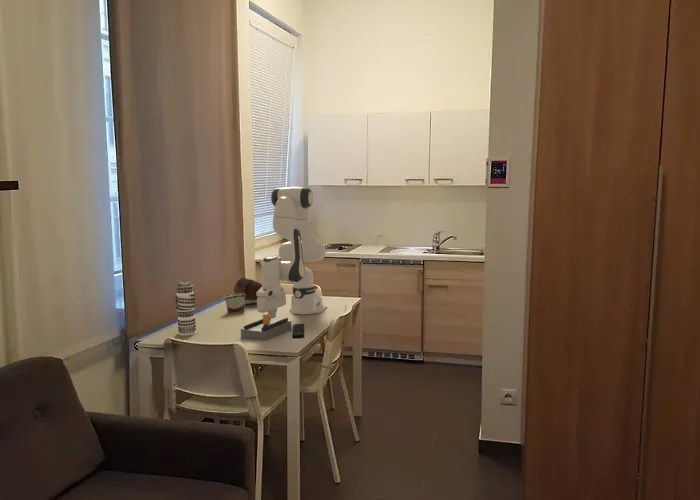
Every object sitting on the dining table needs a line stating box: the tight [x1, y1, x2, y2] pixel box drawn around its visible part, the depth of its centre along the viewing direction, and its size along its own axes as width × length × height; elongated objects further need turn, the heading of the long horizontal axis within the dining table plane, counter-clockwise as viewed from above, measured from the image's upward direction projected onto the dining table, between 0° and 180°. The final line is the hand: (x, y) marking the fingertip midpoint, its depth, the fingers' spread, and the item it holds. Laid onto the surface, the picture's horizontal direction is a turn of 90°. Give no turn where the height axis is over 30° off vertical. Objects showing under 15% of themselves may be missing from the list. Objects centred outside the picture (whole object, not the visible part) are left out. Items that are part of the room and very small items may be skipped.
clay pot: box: [233, 277, 262, 306], centre depth 358 cm, size 15×15×25 cm
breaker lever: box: [262, 313, 270, 325], centre depth 291 cm, size 2×2×5 cm
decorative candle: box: [174, 281, 197, 336], centre depth 294 cm, size 9×9×25 cm
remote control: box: [292, 323, 305, 339], centre depth 293 cm, size 5×24×1 cm, turn 4°
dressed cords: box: [243, 315, 289, 331], centre depth 291 cm, size 22×12×2 cm, turn 153°
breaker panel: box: [240, 318, 292, 341], centre depth 291 cm, size 22×14×4 cm, turn 153°
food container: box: [223, 292, 246, 315], centre depth 339 cm, size 12×6×10 cm, turn 123°
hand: (272, 317), depth 296 cm, fingers closed
